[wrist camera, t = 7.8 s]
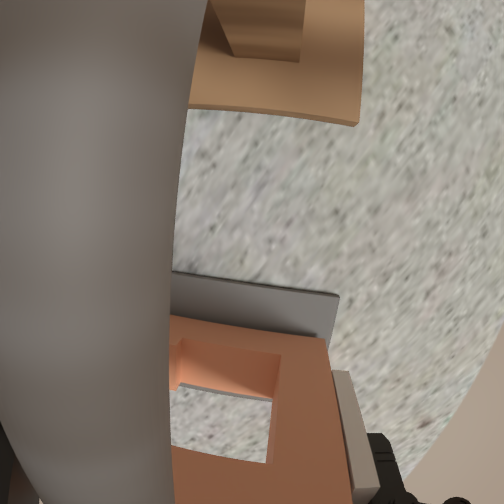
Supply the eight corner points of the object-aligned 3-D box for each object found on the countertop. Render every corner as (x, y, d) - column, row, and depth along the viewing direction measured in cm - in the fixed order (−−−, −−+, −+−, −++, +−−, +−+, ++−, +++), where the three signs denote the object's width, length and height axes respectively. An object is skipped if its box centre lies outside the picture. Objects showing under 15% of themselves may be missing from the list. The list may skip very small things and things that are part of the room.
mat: (151, 267, 17) (148, 269, 17) (338, 295, 16) (339, 297, 16) (151, 375, 18) (148, 378, 18) (312, 402, 18) (312, 406, 17)
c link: (155, 311, 17) (24, 445, 6) (324, 338, 16) (355, 527, 5) (155, 352, 17) (48, 493, 7) (314, 379, 17) (326, 562, 6)
